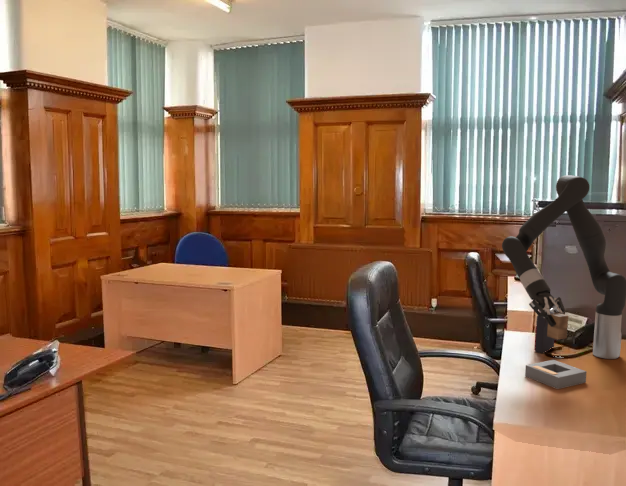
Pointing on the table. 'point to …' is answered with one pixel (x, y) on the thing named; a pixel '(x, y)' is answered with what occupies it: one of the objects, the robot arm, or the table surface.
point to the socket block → (555, 374)
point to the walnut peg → (558, 326)
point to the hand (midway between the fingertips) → (559, 324)
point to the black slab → (542, 336)
